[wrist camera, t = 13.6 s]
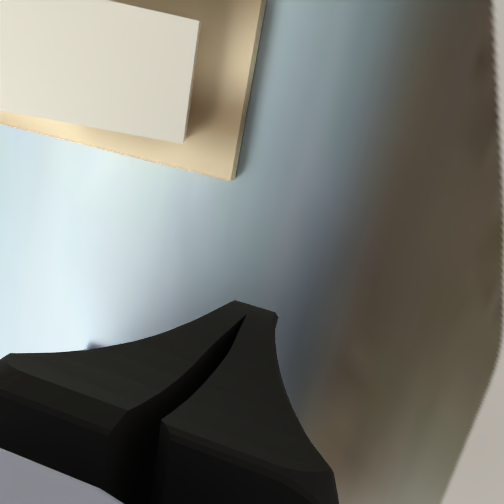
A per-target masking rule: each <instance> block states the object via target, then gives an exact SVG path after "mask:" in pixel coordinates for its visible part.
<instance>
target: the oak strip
mask: <svg viewBox="0 0 504 504" xmlns="http://www.w3.org/2000/svg"><path fill="white" fill-rule="evenodd" d="M109 1H113V2H118V3H122V4H127V5H131V6H136V7H140V8H144V9H149V10H153V11H158V12H162V13H167V14H171V15H176V16H180V17H184V18H189V19H193V20H198V21H199V22H200V24H201V30H200V37H199V44H198V52H197V59H196V67H195V74H194V82H193V89H192V97H191V104H190V112H189V119H188V126H187V134H186V139H185V141H184V143H183V144H179V143H174V142H169V141H163V140H158V139H152V138H147V137H142V136H136V135H131V134H125V133H120V132H115V131H109V130H104V129H98V128H93V127H88V126H82V125H77V124H71V123H66V122H61V121H55V120H50V119H45V118H39V117H34V116H28V115H23V114H18V113H12V112H7V111H1V110H0V124H3V125H7V126H11V127H15V128H19V129H23V130H27V131H31V132H35V133H39V134H43V135H47V136H51V137H55V138H59V139H63V140H67V141H71V142H75V143H79V144H83V145H87V146H91V147H95V148H99V149H103V150H107V151H111V152H115V153H119V154H123V155H127V156H131V157H135V158H139V159H143V160H147V161H151V162H155V163H159V164H163V165H167V166H171V167H175V168H179V169H183V170H187V171H191V172H195V173H199V174H203V175H207V176H211V177H215V178H219V179H223V180H227V181H232V180H234V179H235V176H236V171H237V165H238V159H239V154H240V148H241V142H242V137H243V131H244V125H245V120H246V114H247V108H248V103H249V97H250V91H251V86H252V80H253V74H254V68H255V63H256V57H257V51H258V46H259V40H260V34H261V29H262V23H263V17H264V12H265V6H266V0H109Z"/></svg>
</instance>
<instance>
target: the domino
mask: <svg viewBox="0 0 504 504" xmlns="http://www.w3.org/2000/svg"><path fill="white" fill-rule="evenodd" d="M200 30H201V24H200V22H199V21H198V20H193V19H189V18H184V17H180V16H176V15H171V14H167V13H162V12H158V11H153V10H149V9H144V8H140V7H136V6H131V5H127V4H122V3H118V2H113V1H109V0H0V110H1V111H7V112H12V113H18V114H23V115H28V116H34V117H39V118H45V119H50V120H55V121H61V122H66V123H71V124H77V125H82V126H88V127H93V128H98V129H104V130H109V131H115V132H120V133H125V134H131V135H136V136H142V137H147V138H152V139H158V140H163V141H169V142H174V143H179V144H183V143H184V141H185V139H186V134H187V126H188V119H189V112H190V104H191V97H192V89H193V82H194V74H195V67H196V59H197V52H198V44H199V37H200Z"/></svg>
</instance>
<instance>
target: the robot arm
mask: <svg viewBox="0 0 504 504" xmlns="http://www.w3.org/2000/svg"><path fill="white" fill-rule="evenodd" d="M277 320H278V316H277V315H276V313H275V312H272V311H269V310H265V309H262V308H259V307H255V306H252V305H249V304H245V303H242V302H239V301H235V300H234V301H232V302H230V303H228V304H226V305H224V306H222V307H220V308H218V309H216V310H214V311H213V312H211V313H209V314H207V315H204V316H202V317H200V318H198V319H196V320H194V321H192V322H189V323H187V324H184V325H182V326H179V327H177V328H175V329H172V330H170V331H167V332H164V333H161V334H158V335H155V336H152V337H148V338H145V339H141V340H137V341H133V342H129V343H124V344H119V345H113V346H108V347H103V348H97V349H84V350H81V351H70V352H56V353H10V354H8V355H6V356H5V357H3V358H2V359H0V504H339V501H338V494H337V489H336V483H335V478H334V473H333V471H332V469H331V468H330V466H329V465H328V464H327V462H326V461H325V460H324V459H323V457H322V456H321V455H320V453H319V452H318V451H317V450H316V448H315V447H314V446H313V444H312V443H311V442H310V440H309V438H308V437H307V435H306V433H305V432H304V430H303V428H302V426H301V424H300V422H299V420H298V418H297V416H296V414H295V412H294V410H293V408H292V406H291V403H290V401H289V398H288V396H287V393H286V390H285V387H284V384H283V381H282V378H281V374H280V370H279V365H278V360H277V354H276V345H275V328H276V324H277Z"/></svg>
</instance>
